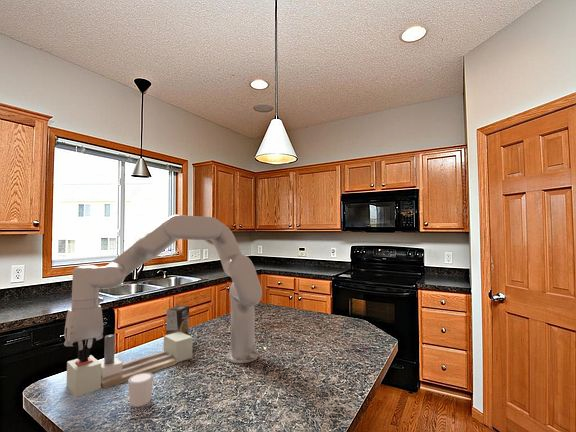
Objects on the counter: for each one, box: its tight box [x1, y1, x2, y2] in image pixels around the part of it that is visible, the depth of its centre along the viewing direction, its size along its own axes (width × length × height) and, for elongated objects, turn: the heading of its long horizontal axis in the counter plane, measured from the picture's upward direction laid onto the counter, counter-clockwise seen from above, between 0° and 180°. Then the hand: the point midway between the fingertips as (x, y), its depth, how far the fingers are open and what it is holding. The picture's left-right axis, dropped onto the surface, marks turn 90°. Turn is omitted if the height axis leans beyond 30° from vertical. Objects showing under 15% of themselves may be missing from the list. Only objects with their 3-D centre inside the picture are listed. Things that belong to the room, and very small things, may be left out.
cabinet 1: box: [66, 354, 102, 398], centre depth 101 cm, size 10×7×8 cm
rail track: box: [101, 350, 177, 390], centre depth 113 cm, size 12×25×2 cm, turn 138°
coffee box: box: [165, 305, 190, 336], centre depth 140 cm, size 9×6×16 cm
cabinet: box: [163, 332, 194, 364], centre depth 126 cm, size 10×7×8 cm
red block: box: [76, 357, 92, 367], centre depth 101 cm, size 4×4×4 cm
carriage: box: [98, 334, 123, 378], centre depth 107 cm, size 7×6×12 cm
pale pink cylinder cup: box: [127, 373, 154, 408], centre depth 93 cm, size 7×7×7 cm
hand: (83, 360), depth 101 cm, fingers closed
